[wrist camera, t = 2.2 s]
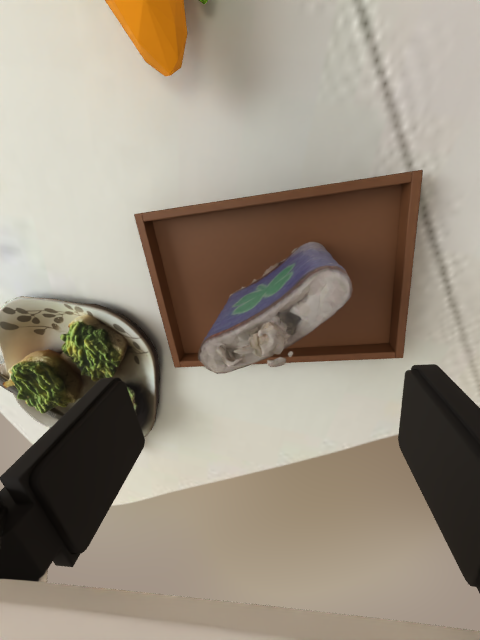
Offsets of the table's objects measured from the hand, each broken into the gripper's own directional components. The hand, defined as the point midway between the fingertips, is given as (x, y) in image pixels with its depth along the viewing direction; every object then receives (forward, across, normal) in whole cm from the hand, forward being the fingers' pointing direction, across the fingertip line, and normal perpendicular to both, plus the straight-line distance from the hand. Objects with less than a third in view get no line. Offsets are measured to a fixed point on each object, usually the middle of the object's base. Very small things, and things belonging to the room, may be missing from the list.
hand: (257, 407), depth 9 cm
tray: (+15, 0, 0) cm, 15 cm away
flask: (+14, 0, 0) cm, 15 cm away
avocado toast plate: (+15, +20, +8) cm, 26 cm away
